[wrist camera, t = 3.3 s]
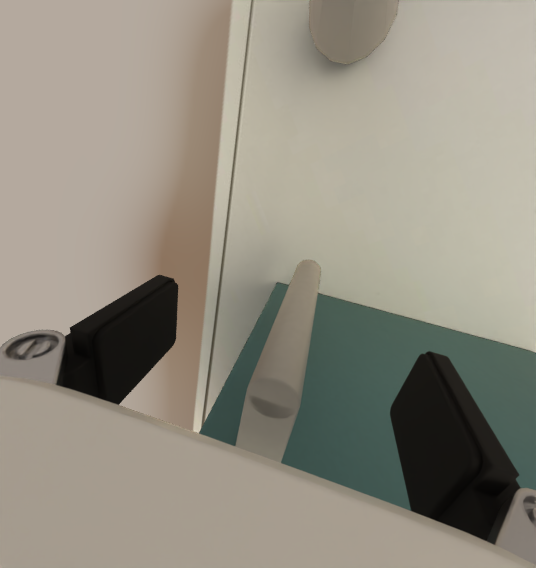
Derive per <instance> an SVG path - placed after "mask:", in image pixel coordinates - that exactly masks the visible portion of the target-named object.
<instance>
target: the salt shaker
mask: <svg viewBox="0 0 536 568" xmlns="http://www.w3.org/2000/svg"><path fill="white" fill-rule="evenodd" d="M398 2H399V0H310V2H309V28H310V31H311V34H312V37H313V40H314V43H315V46H316V48H317V49H318V50H319V51H320V52H321V53H322V54H323V55H325V56H326V57H327V58H328V59H329V60H330V61H334V62H339V63H344V64H350V63H353V62H355V61H358V60H360V59H363V58H365V57H367V56H368V55H369V54H370V53H371V52H372V51H373V50H374V49H375V48H376V47H378V46H379V45H380V44H381V43H382V42H383V41H384V40H385V38H386V36H387V34H388V32H389V30H390V28H391V25H392V23H393V21H394V19H395V17H396V15H397V9H398Z"/></svg>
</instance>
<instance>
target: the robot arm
mask: <svg viewBox="0 0 536 568" xmlns="http://www.w3.org/2000/svg"><path fill="white" fill-rule="evenodd" d="M177 302H178V285H177V283H175V281H174V279H172V278H169V277H165V276H162V275H158V276H156V277H154V278H152V279H151V280H149V281H147V282H146V283H144V284H142V285H141V286H139V287H137V288H136V289H134V290H132V291H131V292H129V293H127V294H126V295H124V296H122V297H121V298H119V299H117V300H115V301H114V302H112V303H111V304H109V305H107V306H105V307H104V308H102V309H101V310H99V311H97V312H95V313H94V314H92V315H90V316H89V317H87V318H85V319H84V320H82V321H80V322H79V323H77V324H75V325H74V326H72V327H70V330H71V331H70V332H71V333H70V334H68V335H67V336H64V335H63V334H62V333H60V332H58V331H54V330H36V331H31V332H27V333H23V334H20V335H18V336H16V337H13V338H11V339H10V340H8V341H7V342H5V343H4V344H3V345H2V346H1V347H0V568H536V490H533V489H529V488H521V487H520V486H519V484H518V482H517V481H516V478H517V477H518V476H519V473H518V472H517V470H516V468H515V467H514V465H513V463H512V462H511V460H510V459H509V457H508V455H507V454H506V452H505V450H504V449H503V447H502V445H501V444H500V442H499V440H498V439H497V437H496V435H495V434H494V432H493V430H492V429H491V427H490V425H489V424H488V422H487V420H486V419H485V417H484V415H483V414H482V412H481V410H480V409H479V407H478V405H477V404H476V402H475V400H474V399H473V397H472V395H471V394H470V392H469V390H468V389H467V387H466V385H465V384H464V382H463V380H462V379H461V377H460V375H459V374H458V372H457V371H456V369H455V367H454V366H453V364H452V362H451V361H450V359H449V358H448V357H447V356H445V355H441V354H438V353H434V352H431V351H428V352H426V353H425V354H423V353H422V354H420V355H419V357H418V358H417V360H416V362H415V364H414V366H413V367H412V369H411V371H410V373H409V375H408V376H407V378H406V380H405V382H404V384H403V386H402V387H401V389H400V391H399V393H398V395H397V396H396V398H395V400H394V402H393V404H392V406H391V409H390V418H391V422H392V427H393V431H394V436H395V440H396V445H397V449H398V454H399V458H400V463H401V467H402V472H403V476H404V481H405V485H406V490H407V494H408V499H409V503H410V508H411V511H409V510H407V509H404V508H402V507H399V506H396V505H394V504H391V503H388V502H386V501H383V500H380V499H377V498H375V497H372V496H369V495H367V494H364V493H361V492H358V491H356V490H353V489H350V488H348V487H345V486H342V485H339V484H337V483H334V482H331V481H328V480H326V479H323V478H320V477H318V476H315V475H312V474H309V473H307V472H304V471H301V470H299V469H296V468H293V467H290V466H288V465H285V464H282V463H279V462H276V461H274V460H271V459H268V458H265V457H263V456H260V455H257V454H254V453H252V452H249V451H246V450H243V449H241V448H238V447H235V446H232V445H229V444H227V443H224V442H221V441H218V440H216V439H213V438H210V437H207V436H205V435H202V434H199V433H196V432H193V431H191V430H188V429H185V428H182V427H179V426H176V425H174V424H170V423H168V422H165V421H162V420H160V419H157V418H154V417H151V416H148V415H145V414H143V413H140V412H137V411H134V410H131V409H128V408H126V407H123V406H120V405H119V404H120V403H121V402H122V400H123V399H124V398H125V397H126V396H127V395H128V394H129V393H130V392H131V390H133V388H134V387H135V386H136V385H137V384H138V383H139V382H140V381H141V380H142V379H143V378H144V377H145V376H146V374H147V373H148V372H149V371H150V370H151V369H152V368H153V367H154V366H155V365H156V363H157V362H158V361H159V360H160V359H161V358H162V357H163V356H164V355H165V354H166V352H168V351H169V349H170V348H171V347H172V346H173V345H174V343H175V340H176V326H177Z"/></svg>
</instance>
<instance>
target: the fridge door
mask: <svg viewBox="0 0 536 568" xmlns="http://www.w3.org/2000/svg"><path fill="white" fill-rule="evenodd" d="M320 276H321V268H320V266H319V265H318V264H317V263H316V262H315V261H313V260H304V261H301V262H300V263H299V264H298V265H297V268H296V270H295V272H294V275H293V277H292V280H291V282H290V285H285V284H281V283H277V284H276V286H275V288H274V290H273V292H272V294H271V296H270V298H269V300H268V302H267V304H266V305H265V307H264V309H263V311H262V313H261V315H260V317H259V319H258V321H257V323H256V325H255V327H254V329H253V330H252V332H251V334H250V336H249V338H248V340H247V342H246V344H245V346H244V348H243V350H242V352H241V354H240V355H239V357H238V359H237V361H236V363H235V365H234V367H233V369H232V371H231V373H230V375H229V377H228V379H227V380H226V382H225V384H224V386H223V388H222V390H221V392H220V394H219V396H218V398H217V400H216V402H215V404H214V405H213V407H212V409H211V411H210V413H209V415H208V417H207V419H206V421H205V423H204V425H203V427H202V429H201V430H200V432H199V434H202V435H205V436H207V437H210V438H213V439H216V440H218V441H221V442H224V443H227V444H229V445H232V446H235V447H238V448H241V449H243V450H246V451H249V452H252V453H254V454H257V455H260V456H263V457H265V458H268V459H271V460H274V461H276V462H279V463H282V464H285V465H288V466H290V467H293V468H296V469H299V470H301V471H304V472H307V473H309V474H312V475H315V476H318V477H320V478H323V479H326V480H328V481H331V482H334V483H337V484H339V485H342V486H345V487H348V488H350V489H353V490H356V491H358V492H361V493H364V494H367V495H369V496H372V497H375V498H377V499H380V500H383V501H386V502H388V503H391V504H394V505H396V506H399V507H402V508H404V509H407V510H409V511H411V508H410V503H409V499H408V494H407V490H406V485H405V481H404V476H403V472H402V467H401V463H400V458H399V454H398V449H397V445H396V440H395V436H394V431H393V427H392V422H391V418H390V409H391V406H392V404H393V402H394V400H395V398H396V396H397V395H398V393H399V391H400V389H401V387H402V386H403V384H404V382H405V380H406V378H407V376H408V375H409V373H410V371H411V369H412V367H413V366H414V364H415V362H416V360H417V358H418V357H419V355H420V354H422V353H423V354H425V353H426V352H428V351H431V352H434V353H438V354H441V355H445V356H447V357H448V358H449V359H450V361H451V362H452V364H453V366H454V367H455V369H456V371H457V372H458V374H459V375H460V377H461V379H462V380H463V382H464V384H465V385H466V387H467V389H468V390H469V392H470V394H471V395H472V397H473V399H474V400H475V402H476V404H477V405H478V407H479V409H480V410H481V412H482V414H483V415H484V417H485V419H486V420H487V422H488V424H489V425H490V427H491V429H492V430H493V432H494V434H495V435H496V437H497V439H498V440H499V442H500V444H501V445H502V447H503V449H504V450H505V452H506V454H507V455H508V457H509V459H510V460H511V462H512V463H513V465H514V467H515V468H516V470H517V472H518V473H519V476H518V477H517V478H516V481H517V482H518V484H519V486H520V487H521V488H529V489H533V490H536V353H535V352H532V351H528V350H524V349H520V348H517V347H513V346H509V345H506V344H502V343H498V342H495V341H491V340H487V339H484V338H480V337H476V336H473V335H469V334H465V333H462V332H458V331H454V330H451V329H447V328H443V327H440V326H436V325H432V324H429V323H425V322H421V321H417V320H414V319H410V318H406V317H403V316H399V315H395V314H392V313H388V312H384V311H381V310H377V309H373V308H370V307H366V306H362V305H359V304H355V303H351V302H348V301H344V300H340V299H337V298H333V297H329V296H325V295H322V294H318V289H319V282H320Z"/></svg>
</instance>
